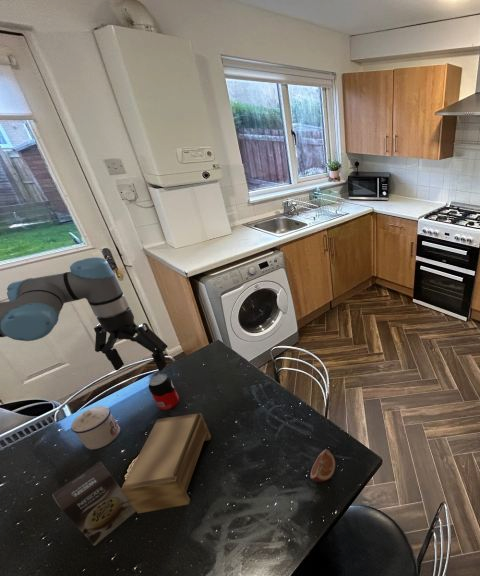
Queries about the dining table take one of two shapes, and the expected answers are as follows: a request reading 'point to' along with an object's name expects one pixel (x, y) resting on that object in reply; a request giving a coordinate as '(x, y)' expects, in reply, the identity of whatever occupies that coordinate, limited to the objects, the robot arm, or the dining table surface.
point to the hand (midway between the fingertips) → (141, 367)
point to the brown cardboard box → (94, 503)
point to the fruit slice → (323, 467)
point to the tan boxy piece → (166, 463)
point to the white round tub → (96, 427)
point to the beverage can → (163, 391)
